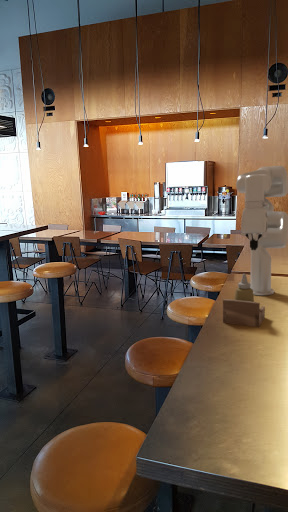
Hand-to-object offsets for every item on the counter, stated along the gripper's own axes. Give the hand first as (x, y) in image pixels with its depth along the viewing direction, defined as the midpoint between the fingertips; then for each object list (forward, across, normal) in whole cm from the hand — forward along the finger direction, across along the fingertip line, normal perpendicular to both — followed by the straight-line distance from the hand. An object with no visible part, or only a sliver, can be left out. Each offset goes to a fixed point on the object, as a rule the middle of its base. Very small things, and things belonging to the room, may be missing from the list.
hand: (253, 249), depth 152 cm
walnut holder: (+25, 0, +17) cm, 30 cm away
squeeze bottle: (+25, 0, +15) cm, 30 cm away
